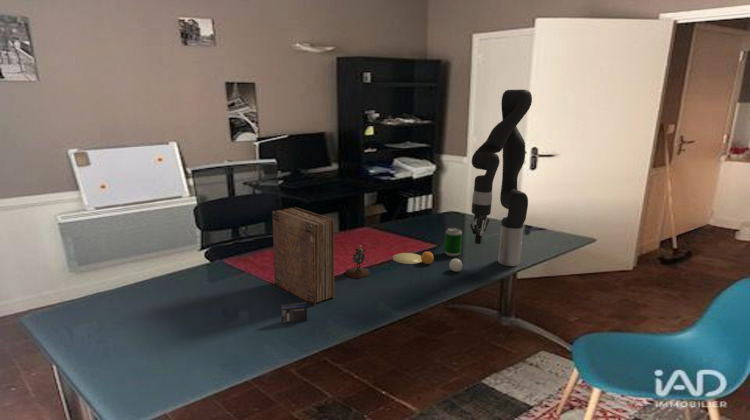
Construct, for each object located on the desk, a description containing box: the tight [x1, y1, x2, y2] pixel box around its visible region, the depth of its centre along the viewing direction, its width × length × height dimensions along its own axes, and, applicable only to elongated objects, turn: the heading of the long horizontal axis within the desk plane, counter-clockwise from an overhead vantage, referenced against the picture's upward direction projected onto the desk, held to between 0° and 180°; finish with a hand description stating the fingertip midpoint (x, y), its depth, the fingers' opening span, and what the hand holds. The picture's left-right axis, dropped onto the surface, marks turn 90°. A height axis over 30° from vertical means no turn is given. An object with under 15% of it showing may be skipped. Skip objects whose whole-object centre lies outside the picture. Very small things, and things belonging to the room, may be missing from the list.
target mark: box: [392, 252, 423, 265], centre depth 221 cm, size 14×14×1 cm
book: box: [271, 206, 335, 307], centre depth 180 cm, size 25×9×30 cm, turn 44°
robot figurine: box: [345, 245, 371, 280], centre depth 200 cm, size 11×9×12 cm
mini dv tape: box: [280, 301, 308, 324], centre depth 160 cm, size 8×2×6 cm, turn 106°
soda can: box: [444, 227, 463, 257], centre depth 226 cm, size 8×8×12 cm
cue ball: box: [448, 258, 463, 273], centre depth 206 cm, size 6×6×6 cm
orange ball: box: [420, 251, 434, 265], centre depth 214 cm, size 6×6×6 cm
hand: (478, 243), depth 198 cm, fingers closed
